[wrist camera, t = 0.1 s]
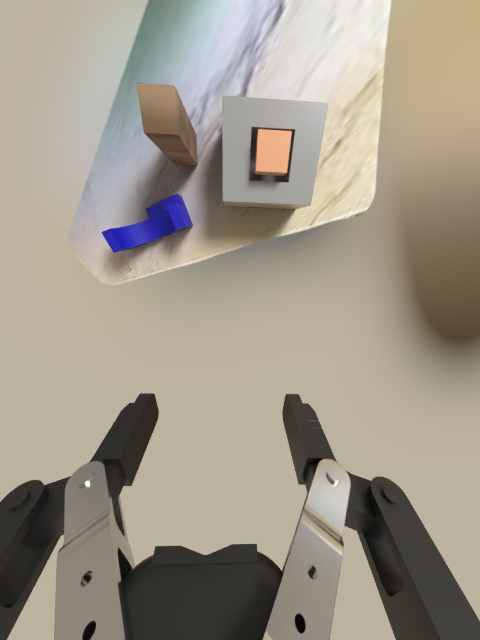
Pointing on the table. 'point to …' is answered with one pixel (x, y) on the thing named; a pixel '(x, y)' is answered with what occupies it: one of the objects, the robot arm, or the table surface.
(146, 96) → the brown wooden plank
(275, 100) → the box
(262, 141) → the button
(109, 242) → the blue bent block
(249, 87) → the table surface
